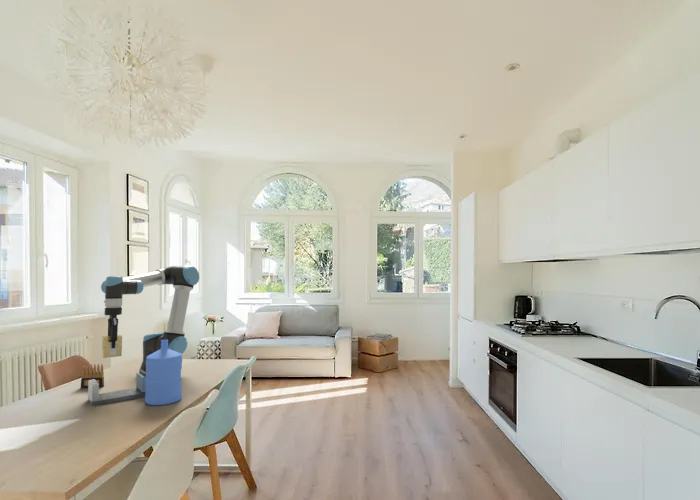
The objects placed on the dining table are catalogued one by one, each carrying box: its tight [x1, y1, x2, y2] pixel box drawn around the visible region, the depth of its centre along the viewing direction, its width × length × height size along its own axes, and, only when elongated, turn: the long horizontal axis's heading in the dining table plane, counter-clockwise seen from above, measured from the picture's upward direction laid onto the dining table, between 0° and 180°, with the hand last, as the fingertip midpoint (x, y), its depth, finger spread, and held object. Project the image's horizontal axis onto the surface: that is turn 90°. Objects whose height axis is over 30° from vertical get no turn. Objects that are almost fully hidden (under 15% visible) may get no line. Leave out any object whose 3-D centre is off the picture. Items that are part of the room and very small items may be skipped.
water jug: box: [144, 340, 183, 406], centre depth 194 cm, size 16×16×28 cm
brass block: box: [101, 334, 123, 359], centre depth 207 cm, size 8×4×10 cm, turn 128°
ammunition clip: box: [80, 363, 105, 389], centre depth 217 cm, size 11×2×12 cm, turn 98°
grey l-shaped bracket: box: [87, 379, 145, 407], centre depth 199 cm, size 26×12×9 cm, turn 129°
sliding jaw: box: [135, 369, 146, 392], centre depth 205 cm, size 4×12×8 cm, turn 40°
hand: (111, 354), depth 207 cm, fingers closed on brass block, 4 cm apart
